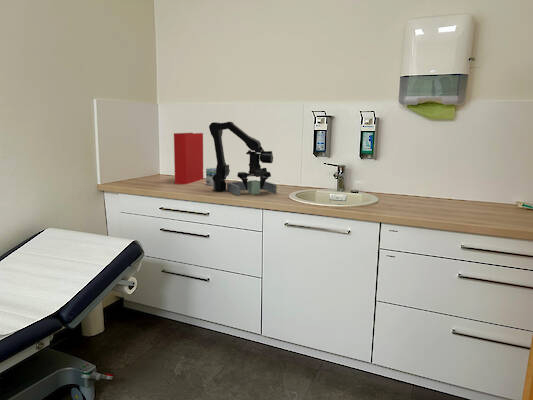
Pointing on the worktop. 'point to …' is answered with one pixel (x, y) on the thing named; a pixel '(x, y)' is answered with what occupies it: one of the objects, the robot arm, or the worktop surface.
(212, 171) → the light bulb box
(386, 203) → the worktop surface
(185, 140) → the book
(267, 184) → the open-front crate
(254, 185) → the sage block
